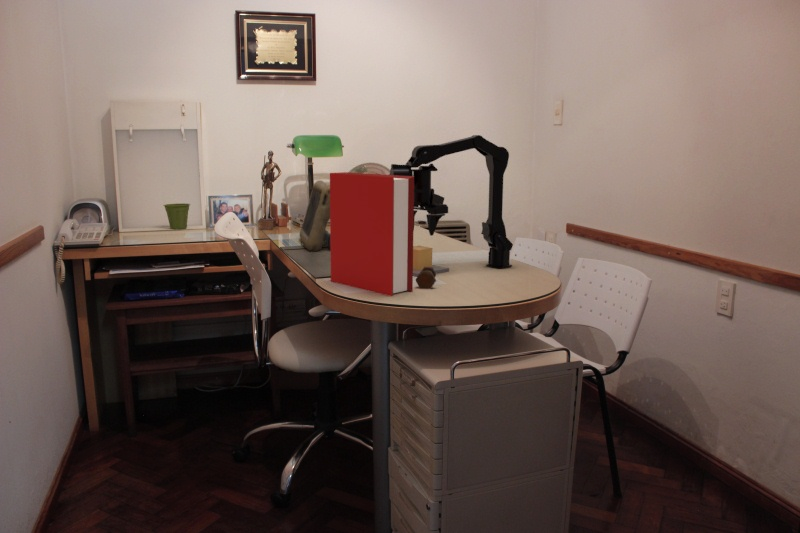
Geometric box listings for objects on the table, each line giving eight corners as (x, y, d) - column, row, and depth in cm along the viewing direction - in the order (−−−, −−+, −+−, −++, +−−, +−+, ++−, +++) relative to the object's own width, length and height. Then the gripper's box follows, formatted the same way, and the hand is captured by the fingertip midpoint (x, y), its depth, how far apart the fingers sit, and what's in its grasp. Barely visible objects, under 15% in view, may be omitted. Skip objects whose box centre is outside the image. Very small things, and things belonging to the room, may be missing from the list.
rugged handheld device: (293, 239, 272) (291, 180, 267) (325, 238, 276) (324, 179, 272) (308, 252, 242) (306, 185, 237) (344, 250, 246) (343, 184, 241)
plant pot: (184, 226, 310) (183, 202, 308) (195, 228, 301) (194, 204, 299) (160, 228, 302) (159, 204, 300) (171, 231, 294) (169, 206, 291)
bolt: (431, 284, 199) (427, 293, 185) (417, 275, 199) (412, 284, 185) (441, 268, 198) (438, 276, 183) (426, 259, 198) (423, 267, 184)
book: (412, 291, 181) (414, 176, 175) (392, 296, 175) (393, 177, 169) (348, 276, 199) (347, 172, 193) (327, 280, 194) (326, 173, 188)
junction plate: (448, 271, 209) (449, 256, 208) (417, 276, 200) (417, 261, 199) (419, 264, 220) (419, 250, 219) (388, 269, 210) (388, 254, 209)
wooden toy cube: (432, 267, 209) (432, 248, 208) (418, 270, 205) (418, 250, 204) (418, 265, 214) (419, 245, 213) (405, 267, 210) (405, 247, 209)
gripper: (460, 185, 205) (459, 234, 208) (420, 182, 218) (419, 228, 221) (435, 187, 198) (435, 238, 201) (395, 184, 211) (395, 231, 214)
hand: (421, 233), depth 209 cm, fingers open, 9 cm apart
